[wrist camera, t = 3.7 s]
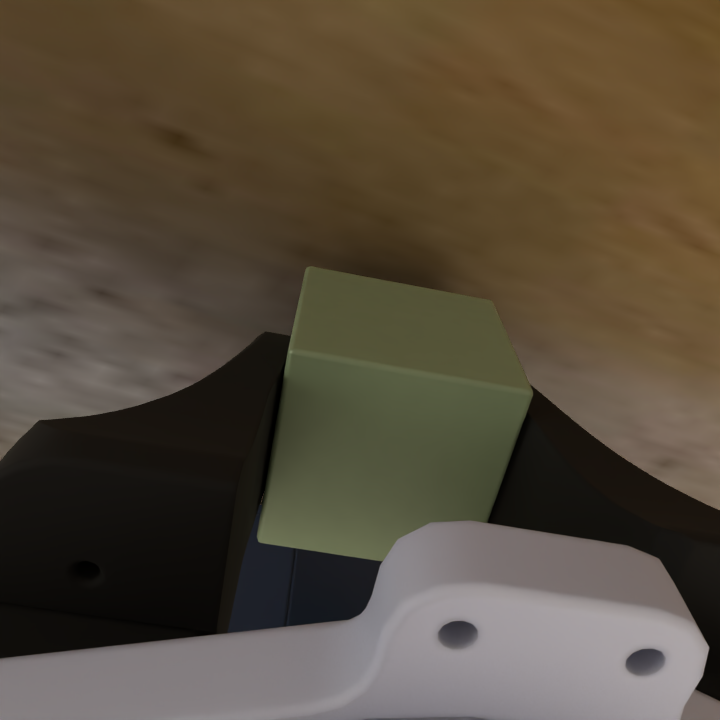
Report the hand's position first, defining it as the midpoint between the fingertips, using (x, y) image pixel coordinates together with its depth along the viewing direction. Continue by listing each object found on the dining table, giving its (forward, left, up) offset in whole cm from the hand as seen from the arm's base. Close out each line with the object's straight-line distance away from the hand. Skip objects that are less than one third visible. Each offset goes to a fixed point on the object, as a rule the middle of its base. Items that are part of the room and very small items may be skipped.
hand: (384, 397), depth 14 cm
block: (0, 0, -1) cm, 1 cm away
